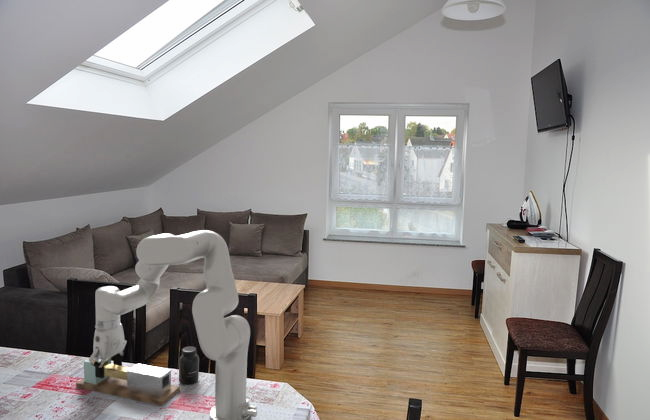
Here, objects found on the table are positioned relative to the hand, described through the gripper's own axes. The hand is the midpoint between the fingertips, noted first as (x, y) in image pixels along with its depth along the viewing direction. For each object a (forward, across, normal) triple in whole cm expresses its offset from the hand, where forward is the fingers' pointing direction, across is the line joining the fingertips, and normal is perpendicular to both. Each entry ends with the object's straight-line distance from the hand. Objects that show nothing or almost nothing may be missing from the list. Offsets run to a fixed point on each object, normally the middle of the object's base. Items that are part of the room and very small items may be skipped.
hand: (109, 371), depth 155 cm
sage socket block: (+3, 0, +5) cm, 6 cm away
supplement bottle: (+5, +12, -24) cm, 27 cm away
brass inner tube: (+1, 0, -5) cm, 5 cm away
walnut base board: (+5, 0, -8) cm, 9 cm away
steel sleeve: (+3, 0, -16) cm, 17 cm away
